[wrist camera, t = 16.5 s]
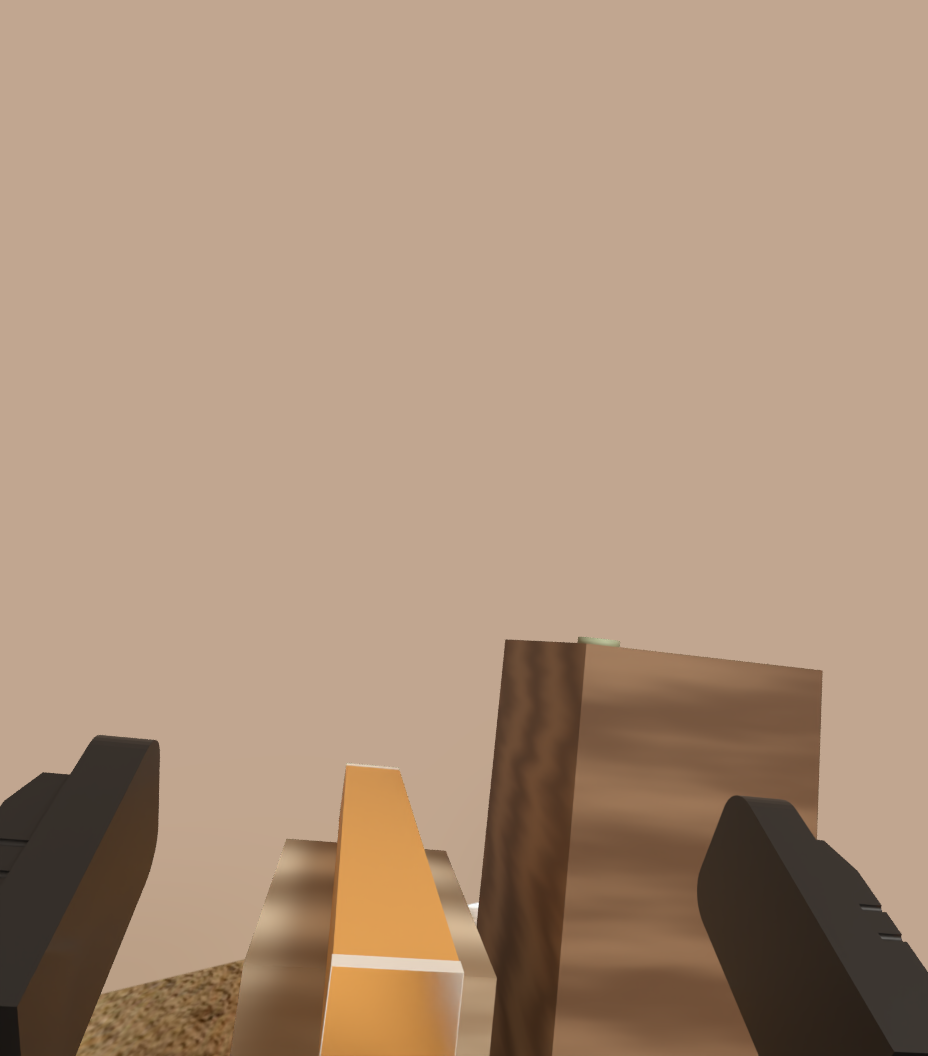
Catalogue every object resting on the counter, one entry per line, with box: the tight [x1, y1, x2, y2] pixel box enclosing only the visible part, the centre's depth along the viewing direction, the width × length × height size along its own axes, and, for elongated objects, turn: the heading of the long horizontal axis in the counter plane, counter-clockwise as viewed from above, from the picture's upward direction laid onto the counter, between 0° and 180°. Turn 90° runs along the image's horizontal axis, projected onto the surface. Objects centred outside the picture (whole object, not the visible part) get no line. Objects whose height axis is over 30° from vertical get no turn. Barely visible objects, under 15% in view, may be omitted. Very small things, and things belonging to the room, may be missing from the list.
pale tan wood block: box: [318, 763, 464, 1056], centre depth 29 cm, size 26×3×3 cm, turn 8°
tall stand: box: [477, 637, 822, 1056], centre depth 35 cm, size 16×10×33 cm, turn 8°
